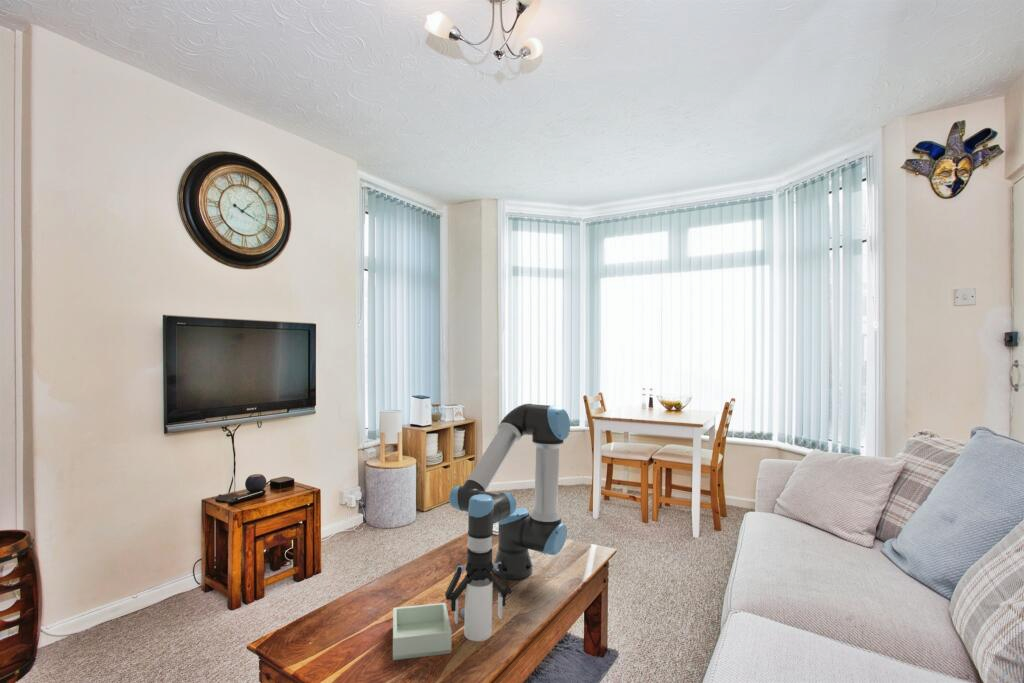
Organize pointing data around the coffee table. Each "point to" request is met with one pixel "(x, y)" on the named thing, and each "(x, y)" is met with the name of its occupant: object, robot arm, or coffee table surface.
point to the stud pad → (462, 612)
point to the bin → (421, 631)
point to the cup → (478, 610)
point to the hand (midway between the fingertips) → (478, 619)
